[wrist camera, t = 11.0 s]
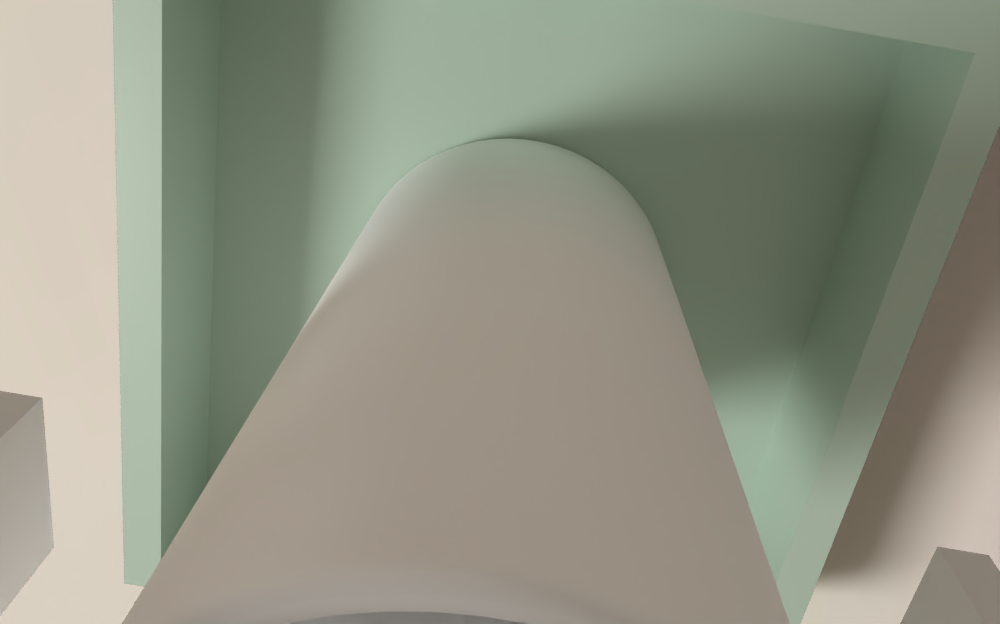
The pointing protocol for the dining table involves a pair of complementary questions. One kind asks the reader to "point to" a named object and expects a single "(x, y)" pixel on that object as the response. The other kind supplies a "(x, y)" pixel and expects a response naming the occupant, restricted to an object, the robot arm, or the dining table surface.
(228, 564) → the cup
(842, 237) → the bin
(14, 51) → the dining table surface
